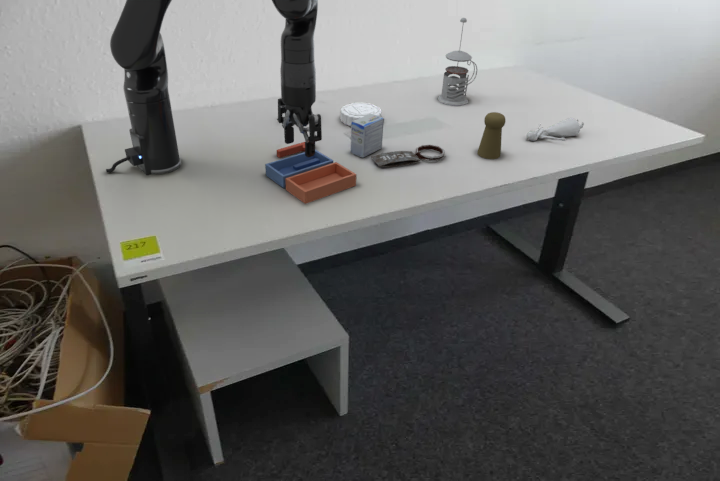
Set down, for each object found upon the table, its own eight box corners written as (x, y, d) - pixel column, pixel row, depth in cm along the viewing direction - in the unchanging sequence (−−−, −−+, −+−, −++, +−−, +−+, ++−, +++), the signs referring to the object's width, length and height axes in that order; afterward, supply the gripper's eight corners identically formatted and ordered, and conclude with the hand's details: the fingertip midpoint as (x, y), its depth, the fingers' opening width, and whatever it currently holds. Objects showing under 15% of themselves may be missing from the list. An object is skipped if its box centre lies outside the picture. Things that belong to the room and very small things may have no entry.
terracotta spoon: (308, 144, 146) (308, 137, 145) (317, 149, 143) (317, 143, 142) (274, 154, 140) (273, 147, 139) (282, 160, 138) (282, 153, 137)
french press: (432, 95, 180) (441, 14, 166) (464, 93, 183) (476, 13, 169) (445, 106, 172) (455, 22, 158) (478, 103, 175) (492, 20, 161)
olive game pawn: (483, 160, 141) (490, 119, 135) (473, 150, 146) (479, 110, 140) (504, 158, 143) (512, 117, 136) (494, 148, 147) (501, 108, 141)
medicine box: (369, 143, 147) (370, 112, 142) (382, 148, 145) (384, 117, 140) (350, 153, 142) (350, 121, 137) (363, 158, 140) (364, 126, 135)
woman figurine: (596, 124, 151) (542, 137, 146) (592, 139, 154) (539, 152, 149) (567, 109, 160) (515, 121, 155) (564, 124, 163) (513, 136, 157)
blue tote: (283, 188, 126) (282, 176, 124) (265, 175, 131) (265, 163, 129) (333, 171, 133) (333, 160, 132) (315, 160, 138) (314, 149, 137)
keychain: (369, 157, 141) (369, 149, 139) (436, 148, 146) (437, 141, 145) (380, 170, 135) (380, 163, 133) (450, 160, 140) (451, 153, 139)
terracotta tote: (305, 204, 120) (305, 192, 119) (285, 190, 125) (285, 178, 123) (356, 185, 128) (356, 174, 126) (336, 173, 133) (336, 161, 131)
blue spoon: (286, 180, 128) (285, 173, 127) (276, 174, 130) (276, 167, 129) (323, 168, 133) (323, 161, 132) (313, 162, 136) (313, 155, 135)
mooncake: (388, 125, 158) (388, 113, 156) (348, 130, 154) (349, 118, 152) (371, 110, 167) (372, 99, 165) (334, 114, 163) (334, 103, 161)
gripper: (265, 74, 122) (269, 142, 131) (302, 93, 113) (303, 165, 122) (294, 69, 126) (296, 135, 135) (331, 86, 117) (330, 156, 126)
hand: (299, 149), depth 129 cm, fingers open, 8 cm apart
